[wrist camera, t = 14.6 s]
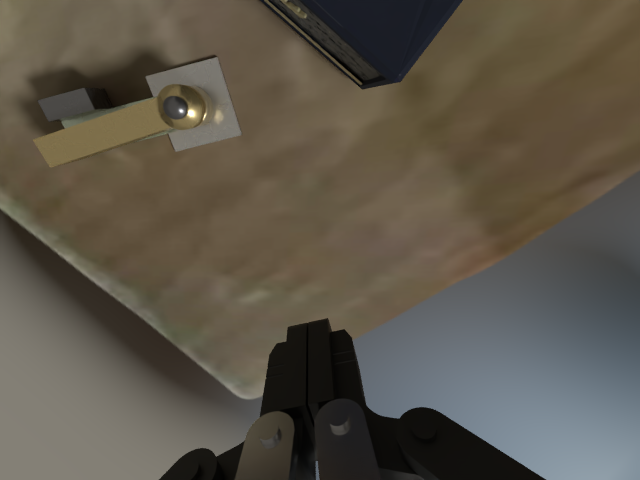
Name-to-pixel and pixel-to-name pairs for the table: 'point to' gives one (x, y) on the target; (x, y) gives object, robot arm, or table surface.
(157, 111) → the latch bar
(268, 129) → the table surface
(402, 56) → the speaker
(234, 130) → the base
